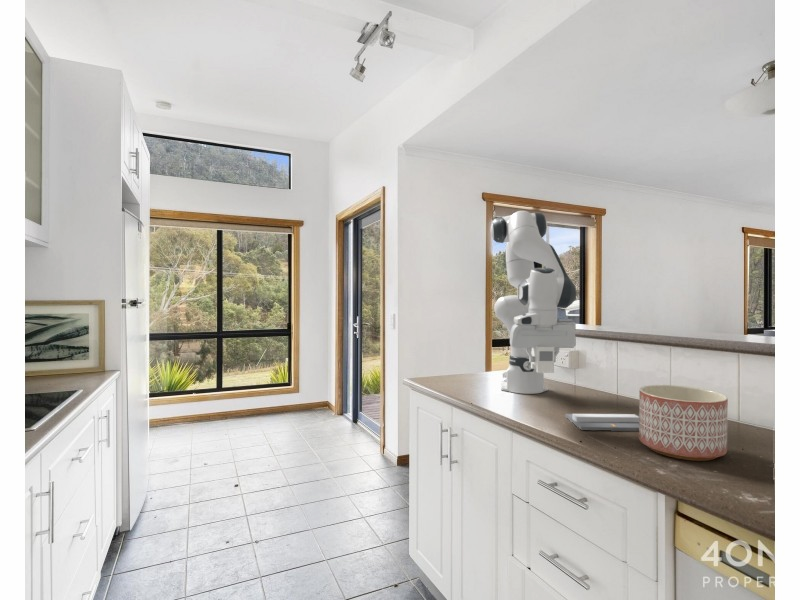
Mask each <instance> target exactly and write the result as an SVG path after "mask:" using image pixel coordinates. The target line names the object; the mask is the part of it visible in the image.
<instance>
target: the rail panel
mask: <svg viewBox="0 0 800 600" xmlns="http://www.w3.org/2000/svg"><path fill="white" fill-rule="evenodd" d="M564 417H565V418H566V419H567V418H568V419H569V420H570V421H569V420H568V419H567V420H568V421H569V422H571V423H572V422H573V423H574V424H575V425H576V426H577V427H576V426H575V425H574V424H573V423H572V424H573V425H574V426H575V427H576V428H578V427H579V428H580V429H581V430H611V431H613V432H615V431H617V432H639V415H637V414H635V413H633V414H632V413H631V414H630V413H564ZM579 428H578V429H579ZM580 429H579V430H580ZM581 430H580V431H581ZM611 431H610V432H611Z"/></svg>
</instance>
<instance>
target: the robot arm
mask: <svg viewBox="0 0 800 600" xmlns="http://www.w3.org/2000/svg"><path fill="white" fill-rule="evenodd" d="M547 221H548V220H547V219H546V217H545V215H544V214H543V213H541V212H535V211H534V212H532V213H530V212H529V211H527V210H517V211H515V212H513V214H511V215H506V216H498V217H496V218H494V219H493V220H492V221H491V225H490V236H491V238H492V239H493V241H494V242H495V243H498V244H504V243H506V246H505V266H506V275H507V277H506V278H507V281H508V284H509V285H510V286H512V287H514V288H515V289H516V290H517V291H518V292H517V294H514V295H513V294H511V295H510V294H509V295H505V296H501V297H499V298H498V299H496V301H495V304H494V307H493V308H494V309H493V311H494V314H495V317H496V318H497V319H498V320H499V321H500V322H501V323H503V325H504V326H505V328H506V330H507V331H508V332H507V333H508V334H509V345H510V355H509V359H508V363H509V365H508V367H507V369H506V371H503V372H502V378H503V379H504V380H501V384H500V390H501V391H504V392H505V391H506V392H510V393H515V394H526V395H530V394H531V395H533V394H540V393H543V392H547V391H549V388H548V387H547V386H545V375H544V374H545V373H537V372H536V369H532V368H531V362H535V356H532V354H531V351H532V348H536V346H553V347H554V363H556V359H557V358H556V357H557V356H558V354H559V353H560V349H574V348H575V346H576V345H577V344H576V343H577V341H576V339H577V338H576V327H577V326H576V322H575V320H573V319H572V318H558V308H559V309H567V308H568V307H570V306H571V305H573V303H574V302H575V301H576V298H577V289H576V285H575V284H574V282H573V281H572V280H571V278H570V276H568V273H567V271H566V269H565V267H564V265H563V264H562V260H561V259H560V257H559V255H558V253H557V251H556V250H555V247H554V246H553V245H551V244H550V243H548V242H547V241H546V240H545V239H544V236H545V235H546V233H547V230H548V222H547ZM534 262H535V263H537V264H540V265H542V266H544V267H535V263H534Z"/></svg>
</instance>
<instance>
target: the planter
mask: <svg viewBox="0 0 800 600" xmlns="http://www.w3.org/2000/svg"><path fill="white" fill-rule="evenodd" d="M638 396H639V403H638V405H639V407H638V408H639V410H638V417H639V431H638V439H639V441H640V442H641V443H642V444H643V445H645V446H646V447H648V448H649V449H650V450H652V451H653V452H655V453H658V454H660V455H663V456H666V457H669V458H673V459H679V460H684V461H685V460H686V461H695V462H699V461H700V462H701V461H702V462H703V461H704V462H705V461H712V460H715V459H717V458H719V457H723V456H725V455H726V454H727V453H728V405H729V404H728V403H729V401H728V399H729V398H728V396H726V395H725V394H724V393H721V392H718V391H715V390H714V391H713V390H710V389H705V388H699V387H694V386H687V385H685V386H684V385H674V384H650V385H644V386H641V387H639V395H638Z"/></svg>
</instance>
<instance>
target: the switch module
mask: <svg viewBox="0 0 800 600" xmlns="http://www.w3.org/2000/svg"><path fill="white" fill-rule="evenodd" d="M531 354H532V356H535V362H531V368H532V369H536V372H537V373H544V374H545V373H548V374H549V373H551V374H554V373H555V362H554V347H553V346H536V348H532V351H531Z"/></svg>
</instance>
